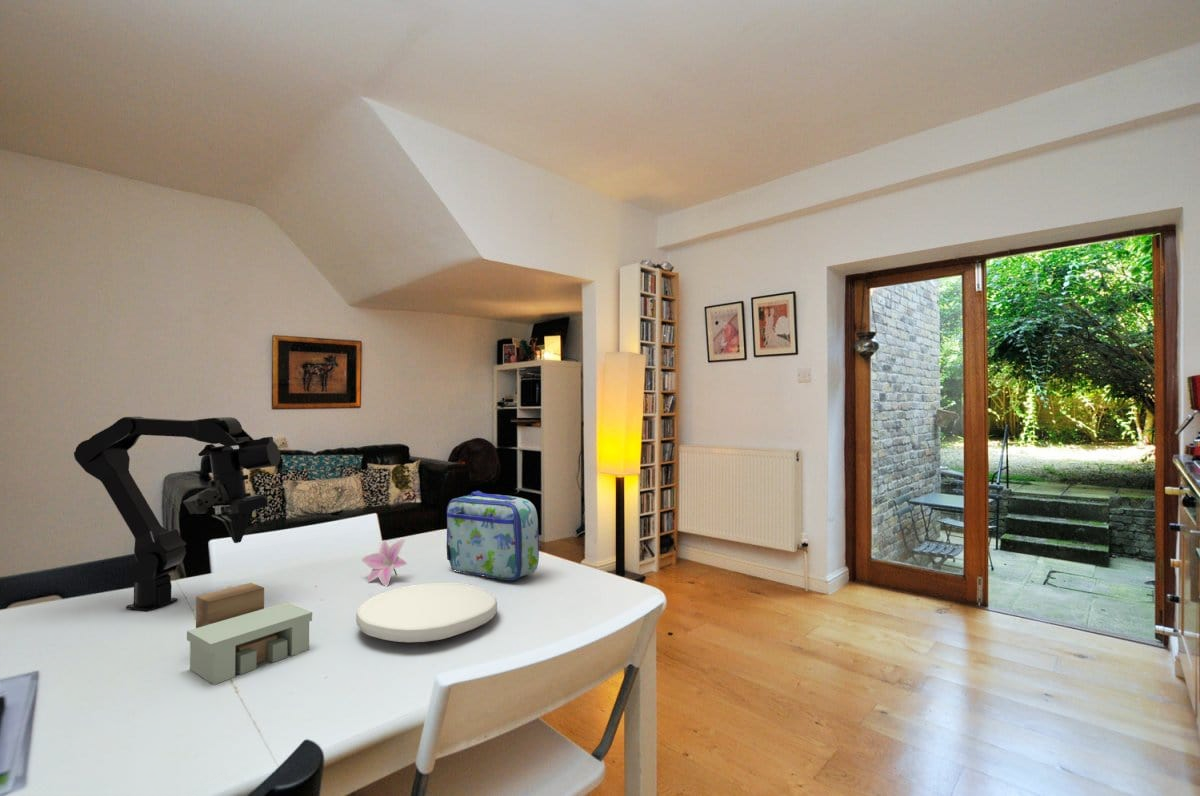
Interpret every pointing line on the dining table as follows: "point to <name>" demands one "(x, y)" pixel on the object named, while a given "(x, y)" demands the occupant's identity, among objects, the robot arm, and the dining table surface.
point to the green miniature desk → (219, 639)
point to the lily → (384, 561)
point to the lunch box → (492, 535)
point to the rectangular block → (234, 612)
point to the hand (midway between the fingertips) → (237, 542)
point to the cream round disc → (426, 612)
